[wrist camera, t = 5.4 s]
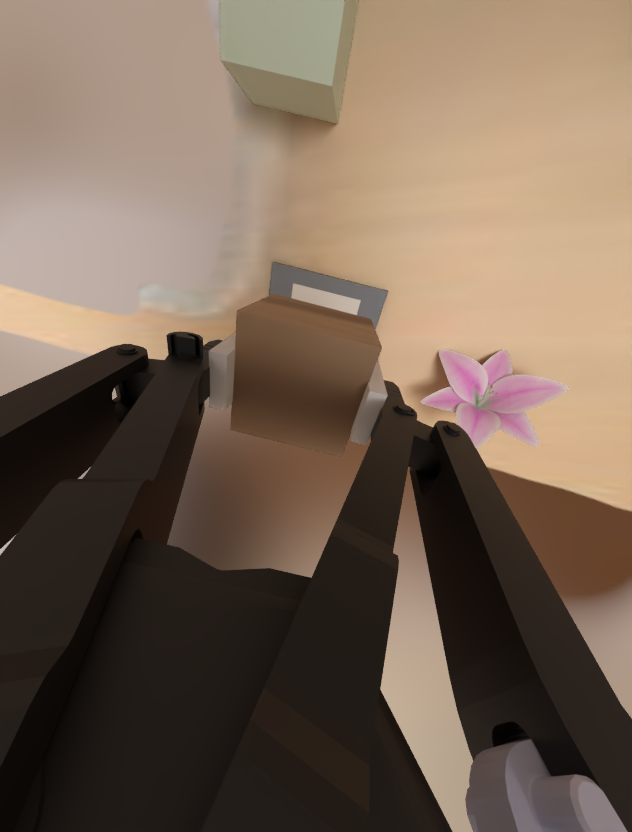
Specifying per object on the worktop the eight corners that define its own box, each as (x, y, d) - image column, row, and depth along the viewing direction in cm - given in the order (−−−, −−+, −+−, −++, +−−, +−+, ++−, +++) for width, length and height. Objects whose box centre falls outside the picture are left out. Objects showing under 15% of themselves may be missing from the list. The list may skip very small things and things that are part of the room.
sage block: (259, -56, 17) (217, -182, 12) (364, -32, 17) (366, -148, 12) (253, 104, 21) (220, 59, 16) (338, 124, 21) (332, 86, 16)
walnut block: (274, 293, 15) (237, 310, 10) (371, 318, 16) (381, 347, 10) (263, 383, 19) (230, 430, 13) (343, 403, 19) (341, 457, 14)
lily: (545, 373, 30) (613, 363, 21) (492, 460, 32) (532, 486, 23) (444, 335, 33) (463, 312, 24) (401, 418, 35) (404, 426, 26)
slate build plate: (274, 262, 26) (272, 262, 26) (387, 290, 27) (388, 291, 26) (264, 353, 32) (263, 355, 32) (358, 376, 32) (358, 379, 32)
